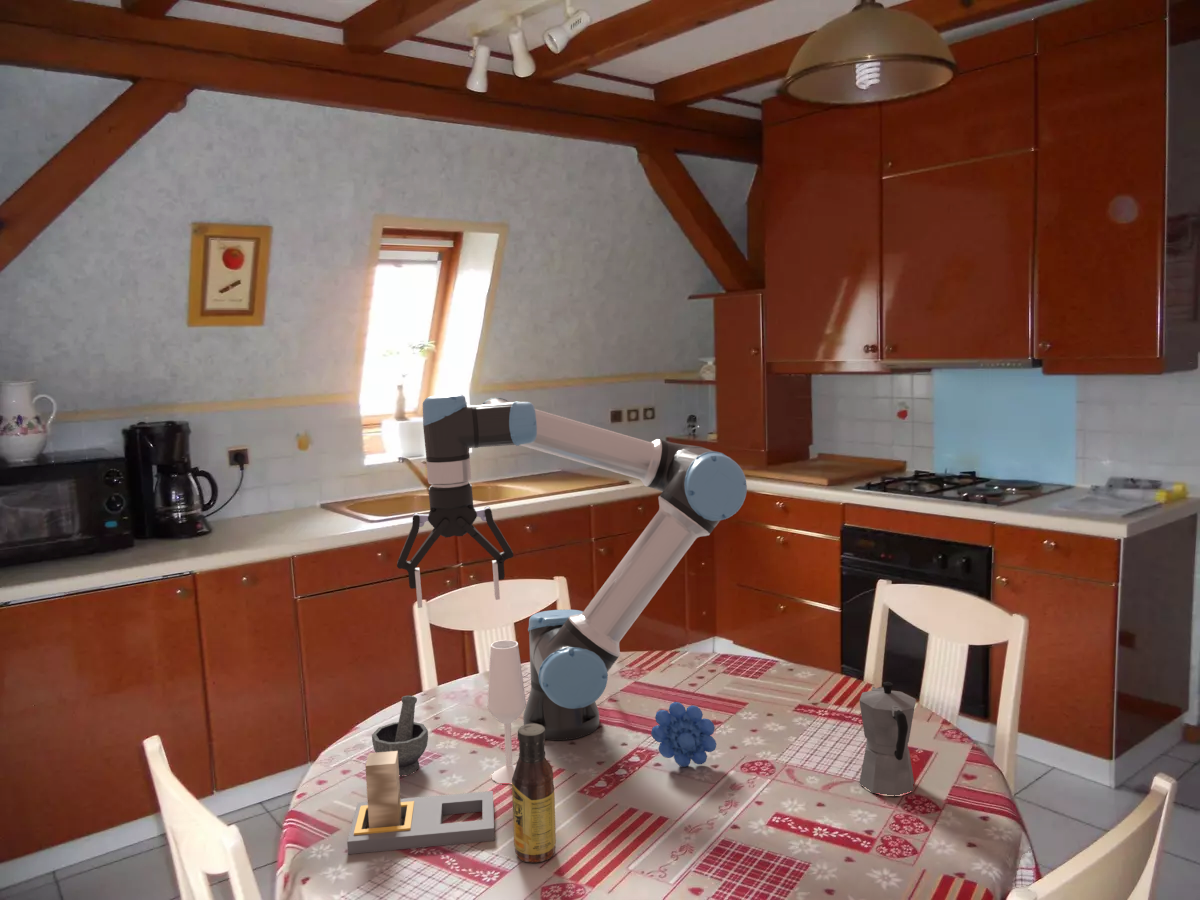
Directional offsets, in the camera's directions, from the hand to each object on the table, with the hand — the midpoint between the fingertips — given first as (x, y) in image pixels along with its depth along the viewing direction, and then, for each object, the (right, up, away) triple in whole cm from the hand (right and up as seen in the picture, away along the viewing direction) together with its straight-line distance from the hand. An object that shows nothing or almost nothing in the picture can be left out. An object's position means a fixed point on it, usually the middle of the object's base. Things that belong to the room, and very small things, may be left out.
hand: (459, 601), depth 164 cm
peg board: (-3, -33, -17) cm, 37 cm away
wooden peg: (-9, -33, -18) cm, 39 cm away
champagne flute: (+9, -31, -1) cm, 32 cm away
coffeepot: (+74, -30, -9) cm, 80 cm away
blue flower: (+40, -30, 0) cm, 50 cm away
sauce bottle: (+15, -34, -26) cm, 45 cm away
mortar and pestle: (-11, -31, +4) cm, 33 cm away
